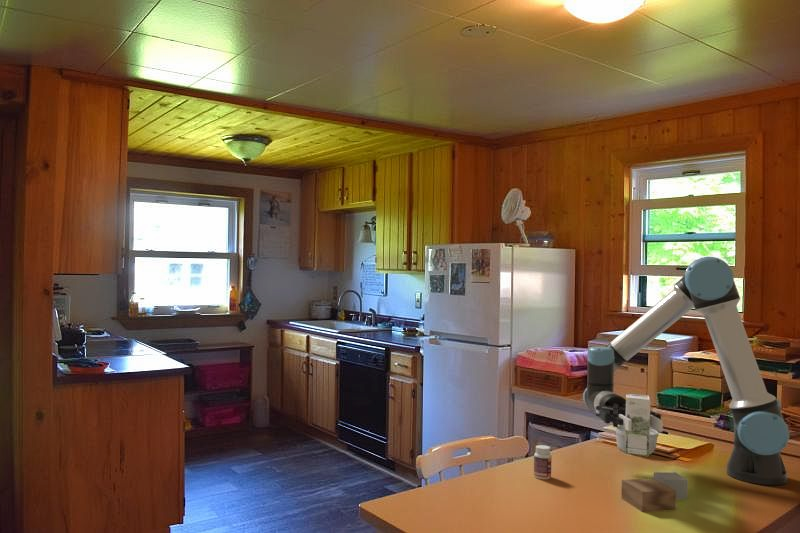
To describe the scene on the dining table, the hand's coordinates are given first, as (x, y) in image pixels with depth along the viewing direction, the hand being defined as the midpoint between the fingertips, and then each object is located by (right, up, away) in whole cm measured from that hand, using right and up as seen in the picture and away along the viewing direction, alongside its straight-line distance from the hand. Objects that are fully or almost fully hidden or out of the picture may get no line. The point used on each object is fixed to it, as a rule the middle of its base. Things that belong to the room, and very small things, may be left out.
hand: (645, 425), depth 153 cm
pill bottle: (-21, -20, +21) cm, 35 cm away
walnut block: (+1, -20, +2) cm, 20 cm away
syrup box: (0, -8, +5) cm, 10 cm away
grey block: (+10, -20, +9) cm, 24 cm away
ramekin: (+17, -22, +51) cm, 58 cm away
